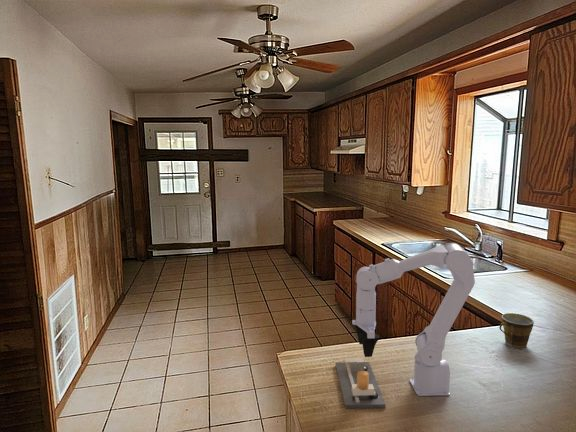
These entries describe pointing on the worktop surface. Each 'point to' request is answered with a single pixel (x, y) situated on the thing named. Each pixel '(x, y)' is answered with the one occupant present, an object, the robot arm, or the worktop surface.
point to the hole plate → (349, 377)
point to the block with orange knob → (362, 385)
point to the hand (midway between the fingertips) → (365, 349)
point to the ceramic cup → (516, 329)
